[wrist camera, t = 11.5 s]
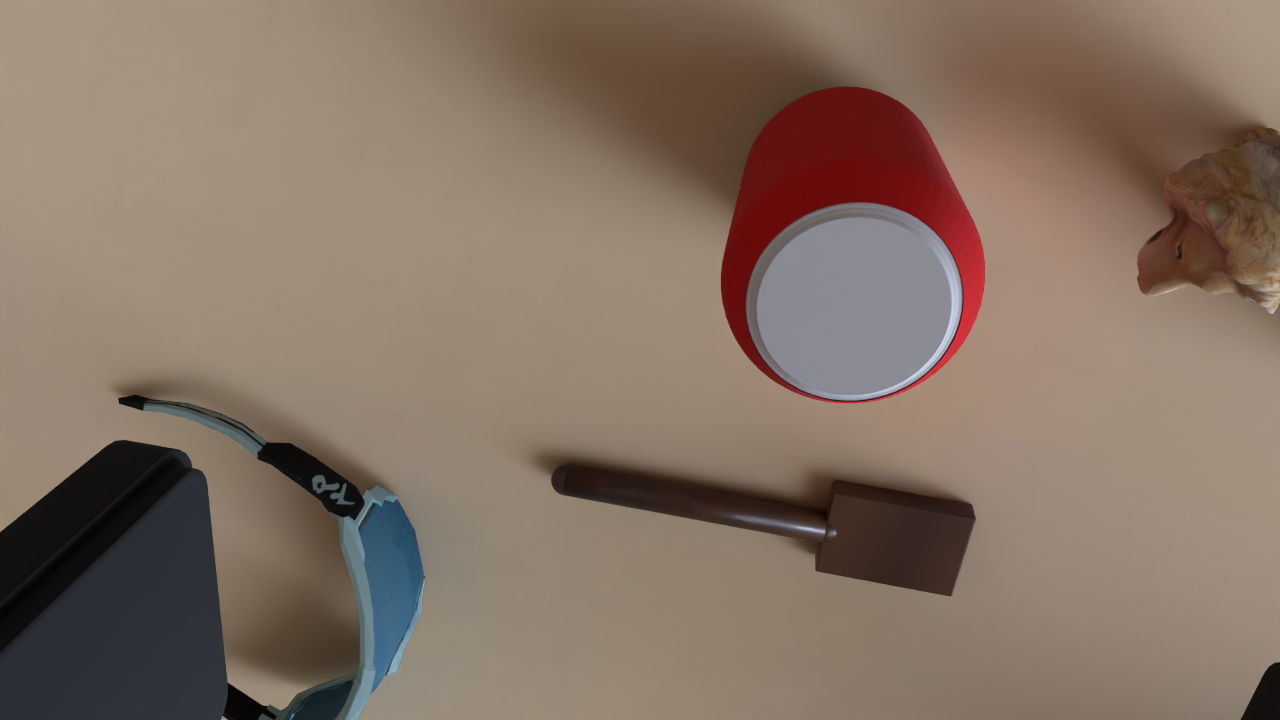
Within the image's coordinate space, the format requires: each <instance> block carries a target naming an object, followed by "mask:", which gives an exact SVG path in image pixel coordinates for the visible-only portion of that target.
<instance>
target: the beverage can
mask: <svg viewBox="0 0 1280 720" xmlns="http://www.w3.org/2000/svg"><path fill="white" fill-rule="evenodd" d="M984 283H985V260H984V253H983V248H982V244H981V240H980V236H979V233H978V231H977V228H976V226H975V223H974V221H973V219H972V217H971V215H970V213H969V211H968V209H967V207H966V205H965V203H964V201H963V199H962V198H961V196H960V194H959V192H958V190H957V188H956V186H955V184H954V182H953V180H952V178H951V176H950V174H949V172H948V170H947V168H946V166H945V164H944V162H943V160H942V158H941V156H940V154H939V152H938V150H937V148H936V147H935V145H934V143H933V141H932V139H931V137H930V135H929V133H928V131H927V130H926V128H925V127H924V125H923V124H922V122H921V121H920V120H919V119H918V118H917V117H916V115H915V114H914V113H912V112H911V111H910V110H909V109H908V108H907V107H905V106H904V105H903V104H901V103H900V102H898V101H897V100H895V99H893V98H891V97H889V96H887V95H885V94H882V93H880V92H877V91H873V90H870V89H865V88H859V87H835V88H828V89H824V90H820V91H816V92H813V93H810V94H808V95H805V96H803V97H801V98H799V99H797V100H795V101H794V102H792V103H790V104H789V105H787V106H786V107H784V108H783V109H782V110H780V111H779V112H778V113H777V114H776V115H775V116H774V117H773V118H772V119H771V120H770V121H769V122H768V123H767V124H766V125H765V127H764V128H763V129H762V131H761V132H760V133H759V135H758V136H757V138H756V140H755V142H754V143H753V145H752V148H751V150H750V152H749V155H748V158H747V161H746V164H745V168H744V173H743V177H742V181H741V185H740V189H739V194H738V198H737V202H736V206H735V210H734V215H733V219H732V223H731V227H730V231H729V236H728V240H727V244H726V248H725V252H724V257H723V262H722V271H721V293H722V301H723V306H724V310H725V314H726V318H727V320H728V323H729V326H730V328H731V330H732V333H733V335H734V337H735V339H736V341H737V342H738V344H739V345H740V347H741V348H742V350H743V351H744V353H745V354H746V355H747V356H748V358H749V359H750V360H751V361H752V362H753V363H754V364H755V365H756V366H757V367H758V368H759V369H760V370H761V371H762V372H763V373H764V374H766V375H767V376H768V377H769V378H770V379H772V380H773V381H775V382H776V383H778V384H780V385H781V386H783V387H785V388H787V389H789V390H791V391H793V392H795V393H798V394H800V395H803V396H806V397H809V398H812V399H816V400H821V401H826V402H834V403H863V402H870V401H876V400H880V399H884V398H888V397H891V396H894V395H897V394H899V393H902V392H904V391H906V390H909V389H911V388H913V387H915V386H916V385H918V384H920V383H921V382H923V381H925V380H926V379H928V378H929V377H930V376H932V375H933V374H935V373H936V372H937V371H938V370H939V369H940V368H942V367H943V366H944V365H945V364H946V363H947V362H948V361H949V360H950V359H951V358H952V356H953V355H954V354H955V353H956V352H957V350H958V349H959V348H960V346H961V345H962V344H963V342H964V341H965V339H966V337H967V336H968V334H969V332H970V331H971V328H972V326H973V324H974V322H975V320H976V317H977V314H978V311H979V308H980V306H981V301H982V296H983V292H984Z"/></svg>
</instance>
